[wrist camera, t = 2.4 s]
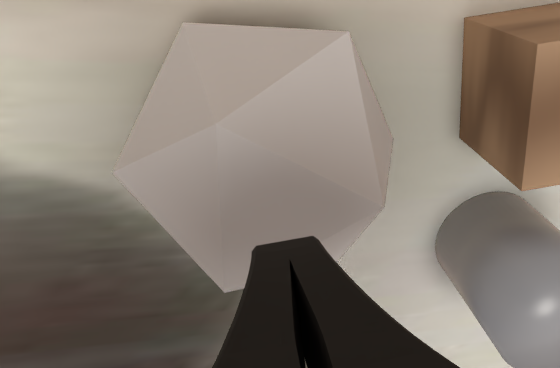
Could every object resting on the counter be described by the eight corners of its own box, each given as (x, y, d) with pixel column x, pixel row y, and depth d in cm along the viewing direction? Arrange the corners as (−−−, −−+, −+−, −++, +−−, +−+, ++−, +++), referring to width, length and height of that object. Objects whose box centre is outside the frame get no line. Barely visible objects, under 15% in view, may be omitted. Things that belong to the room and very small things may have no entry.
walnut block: (570, 118, 22) (660, 166, 17) (458, 137, 22) (521, 191, 17) (588, -3, 19) (698, 18, 15) (463, 17, 19) (537, 44, 15)
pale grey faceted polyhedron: (139, -13, 18) (11, 225, 13) (373, -84, 14) (310, 220, 9) (245, 129, 24) (183, 327, 19) (430, 107, 20) (410, 350, 15)
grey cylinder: (529, 269, 25) (613, 359, 20) (434, 287, 25) (493, 383, 20) (541, 183, 23) (638, 259, 18) (435, 201, 23) (502, 284, 18)
